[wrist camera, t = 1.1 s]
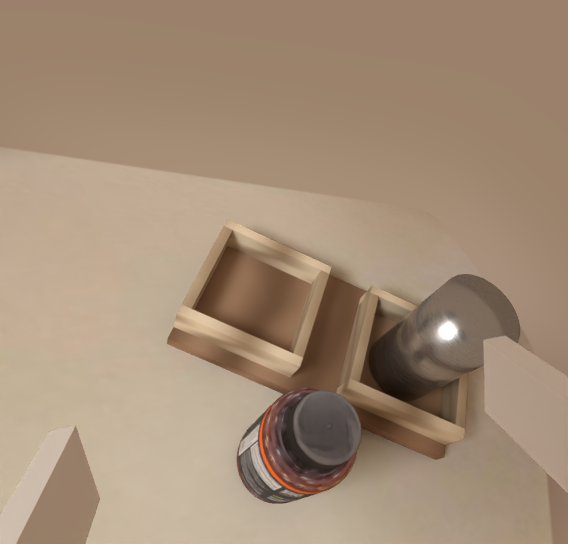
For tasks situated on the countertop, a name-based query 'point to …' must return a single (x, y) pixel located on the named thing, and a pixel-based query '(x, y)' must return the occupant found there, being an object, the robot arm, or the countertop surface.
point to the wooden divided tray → (307, 335)
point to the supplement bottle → (299, 446)
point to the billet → (442, 338)
